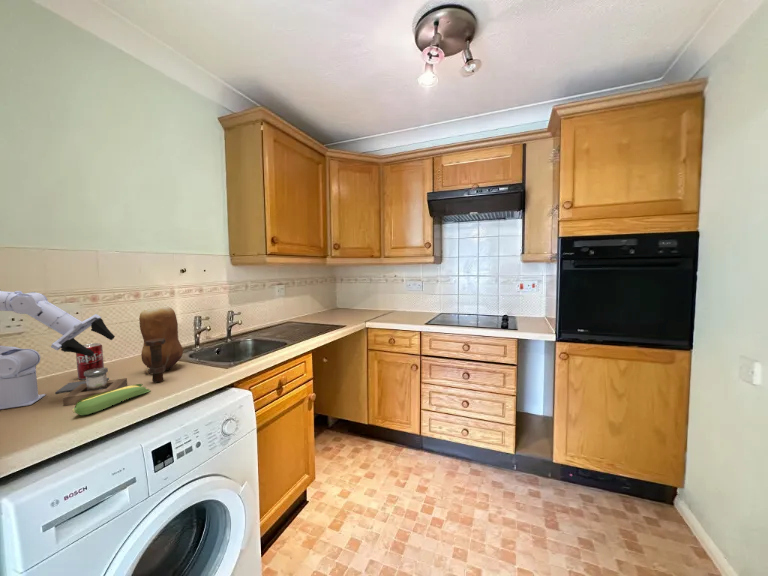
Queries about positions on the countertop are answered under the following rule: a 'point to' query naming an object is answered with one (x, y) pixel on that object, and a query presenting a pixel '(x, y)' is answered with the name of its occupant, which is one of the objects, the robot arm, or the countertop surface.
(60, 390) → the rest mat
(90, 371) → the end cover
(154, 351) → the bolt
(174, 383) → the countertop surface
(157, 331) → the butternut squash
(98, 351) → the soda can
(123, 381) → the wooden square frame
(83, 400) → the edible corn
